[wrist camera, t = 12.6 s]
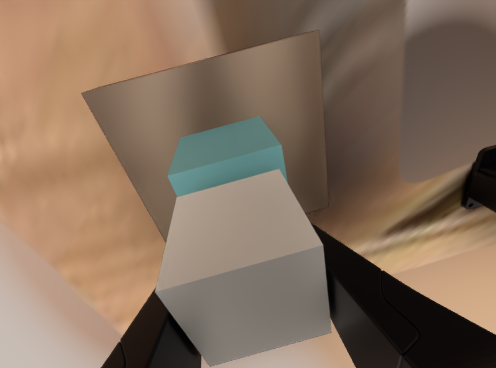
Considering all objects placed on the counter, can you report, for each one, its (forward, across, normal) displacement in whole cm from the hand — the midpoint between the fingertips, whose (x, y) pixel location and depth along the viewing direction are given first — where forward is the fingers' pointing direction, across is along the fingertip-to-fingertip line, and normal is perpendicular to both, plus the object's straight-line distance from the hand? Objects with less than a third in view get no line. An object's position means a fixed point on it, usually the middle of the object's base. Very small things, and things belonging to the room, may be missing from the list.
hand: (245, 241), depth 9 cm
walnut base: (+10, 0, 0) cm, 10 cm away
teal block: (+8, 0, 0) cm, 8 cm away
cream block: (+1, 0, 0) cm, 1 cm away
